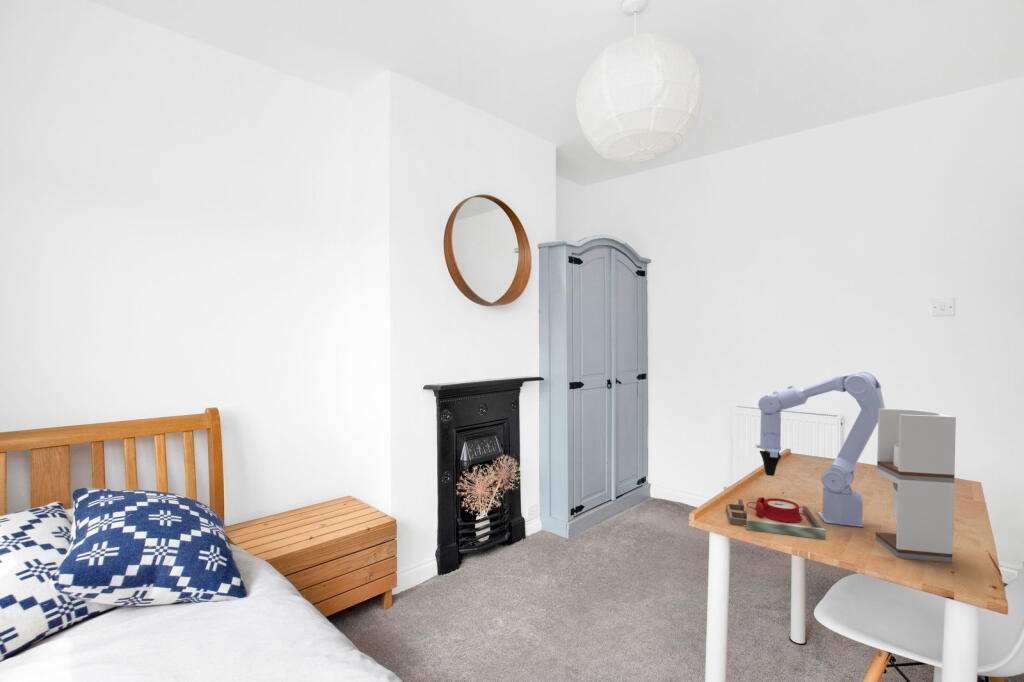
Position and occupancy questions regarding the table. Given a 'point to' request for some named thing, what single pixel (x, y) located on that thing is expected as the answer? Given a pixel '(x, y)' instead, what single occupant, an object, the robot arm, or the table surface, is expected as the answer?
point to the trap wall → (786, 526)
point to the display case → (918, 481)
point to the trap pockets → (735, 514)
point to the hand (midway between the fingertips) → (769, 474)
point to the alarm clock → (778, 509)
